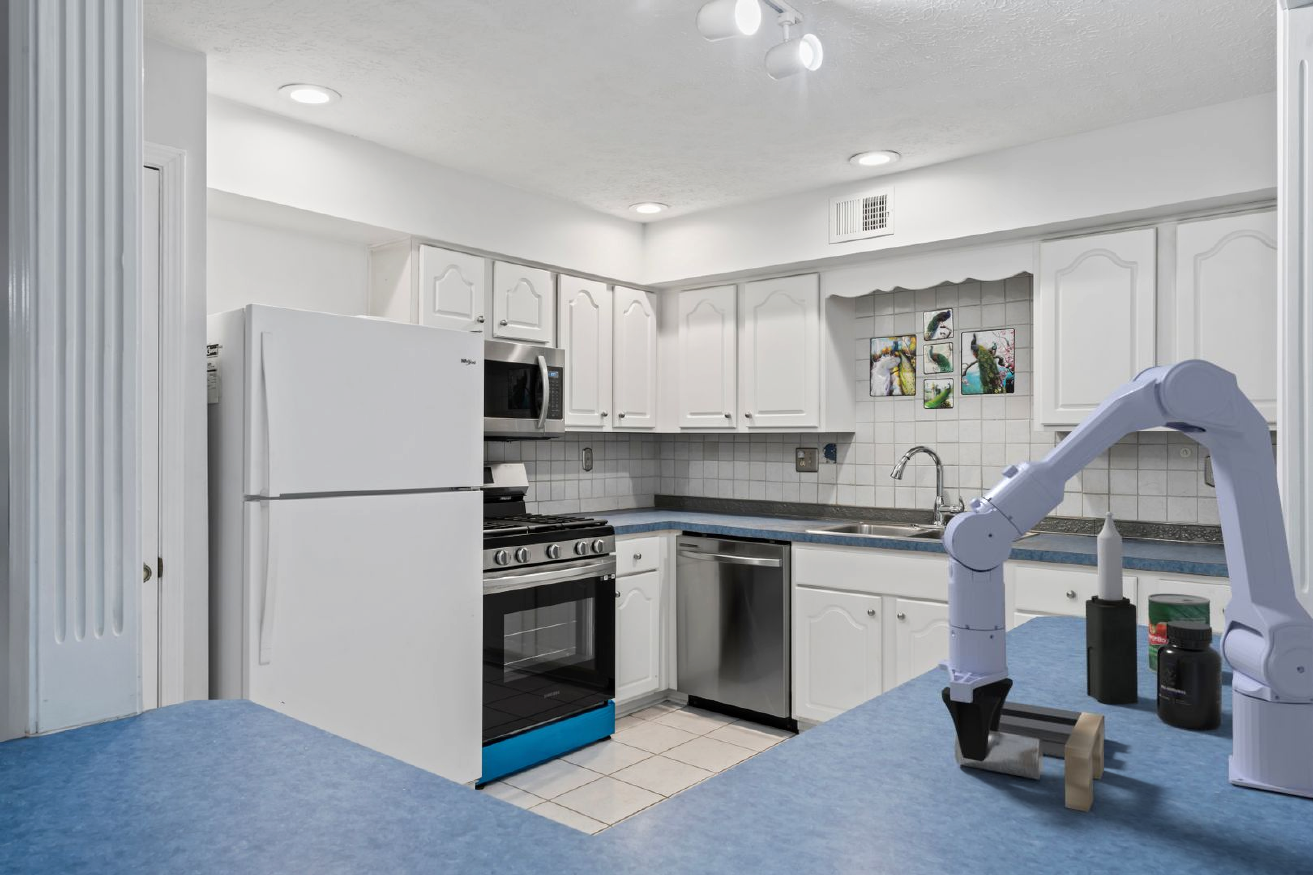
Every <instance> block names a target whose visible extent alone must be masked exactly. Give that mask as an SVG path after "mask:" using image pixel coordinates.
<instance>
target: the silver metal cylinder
mask: <svg viewBox="0 0 1313 875" xmlns="http://www.w3.org/2000/svg"><path fill="white" fill-rule="evenodd" d="M955 734H956V735H955V741H954V758H955V762H956V764H957V765H959V766H965V767H971V768H975V769H981V770H986V771H991V772H997V773H1002V774H1007V775H1008V774H1009V775H1012V776H1018V777H1022V778H1023V777H1024V778H1028V779H1035V780H1040V779H1041V776H1042V772H1043V762H1044V760H1043V759H1044V755H1043V746H1042V741H1041V739H1038V738H1032V737H1026V736H1020V735H1014V734H1008V733H1002V732H996V731H989V739H988V747H987V752H986V756H985V759H984V761H976V760H971V759H966V758H963V756H962V753H961V749H960V745H959V741H958V736H957V733H955Z"/></svg>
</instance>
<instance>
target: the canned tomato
mask: <svg viewBox="0 0 1313 875" xmlns="http://www.w3.org/2000/svg"><path fill="white" fill-rule="evenodd" d="M1147 599H1148V601H1147V602H1148V607H1147V610H1148V663H1149V664H1148V669H1149V670H1148V671H1150V672H1151V673H1152V674H1156V675H1157V650H1158V648H1159V647H1160V646H1161V645H1162V644H1164V643H1166V642H1168V639H1167V638H1166V624H1167V623H1168V622H1170V621H1189V622H1197V623H1202V624H1206V625H1209V626H1211V607H1210V606H1211V605H1210V603H1211V600H1210V599H1209V598H1207V597H1203V596H1199V595H1193V594H1183V593H1152V594H1149V595H1148V596H1147Z"/></svg>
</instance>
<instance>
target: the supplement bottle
mask: <svg viewBox="0 0 1313 875" xmlns="http://www.w3.org/2000/svg"><path fill="white" fill-rule="evenodd" d="M1166 638H1167V639H1168V642H1166V643H1164V644H1162V645H1161V646H1160V647H1159V648H1158V650H1157V674H1156V715H1157V717H1158V719H1159V720H1160V721H1162V722H1163V723H1165V724H1167V725H1170V726H1172V727H1175V728H1179V729H1185V730H1190V731H1199V732H1200V731H1201V732H1202V731H1204V732H1206V731H1207V732H1208V731H1214V730H1217V729H1219V728H1220V727H1221V726H1222V718H1223V715H1222V714H1223V713H1222V712H1223V660H1222V659H1223V658H1222V655H1221V653H1219V652H1218V651H1217V649H1215V648H1214V647H1212V646H1211V644H1212V643H1213V642H1214V638H1213V628H1212V626H1211V625H1210V626H1209V625H1206V624H1202V623H1197V622H1189V621H1170V622H1168V623H1167V624H1166Z"/></svg>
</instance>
